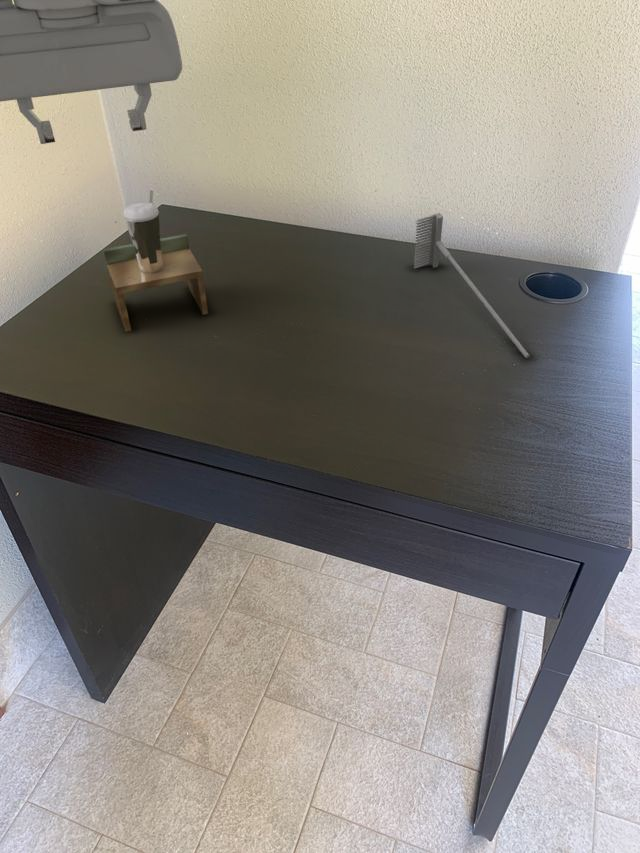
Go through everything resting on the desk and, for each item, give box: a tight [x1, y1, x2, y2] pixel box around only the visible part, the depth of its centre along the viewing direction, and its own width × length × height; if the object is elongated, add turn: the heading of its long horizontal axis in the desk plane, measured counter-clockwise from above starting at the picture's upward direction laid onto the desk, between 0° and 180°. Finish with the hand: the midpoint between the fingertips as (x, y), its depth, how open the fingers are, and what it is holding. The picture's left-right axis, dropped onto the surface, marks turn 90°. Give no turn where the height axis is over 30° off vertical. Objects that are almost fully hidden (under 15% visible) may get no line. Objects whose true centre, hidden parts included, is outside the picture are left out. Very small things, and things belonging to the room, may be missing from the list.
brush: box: [413, 212, 531, 359], centre depth 98 cm, size 4×28×9 cm, turn 19°
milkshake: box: [122, 189, 163, 273], centre depth 93 cm, size 4×5×10 cm
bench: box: [102, 233, 209, 333], centre depth 98 cm, size 12×8×9 cm, turn 112°
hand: (94, 135), depth 72 cm, fingers open, 8 cm apart
